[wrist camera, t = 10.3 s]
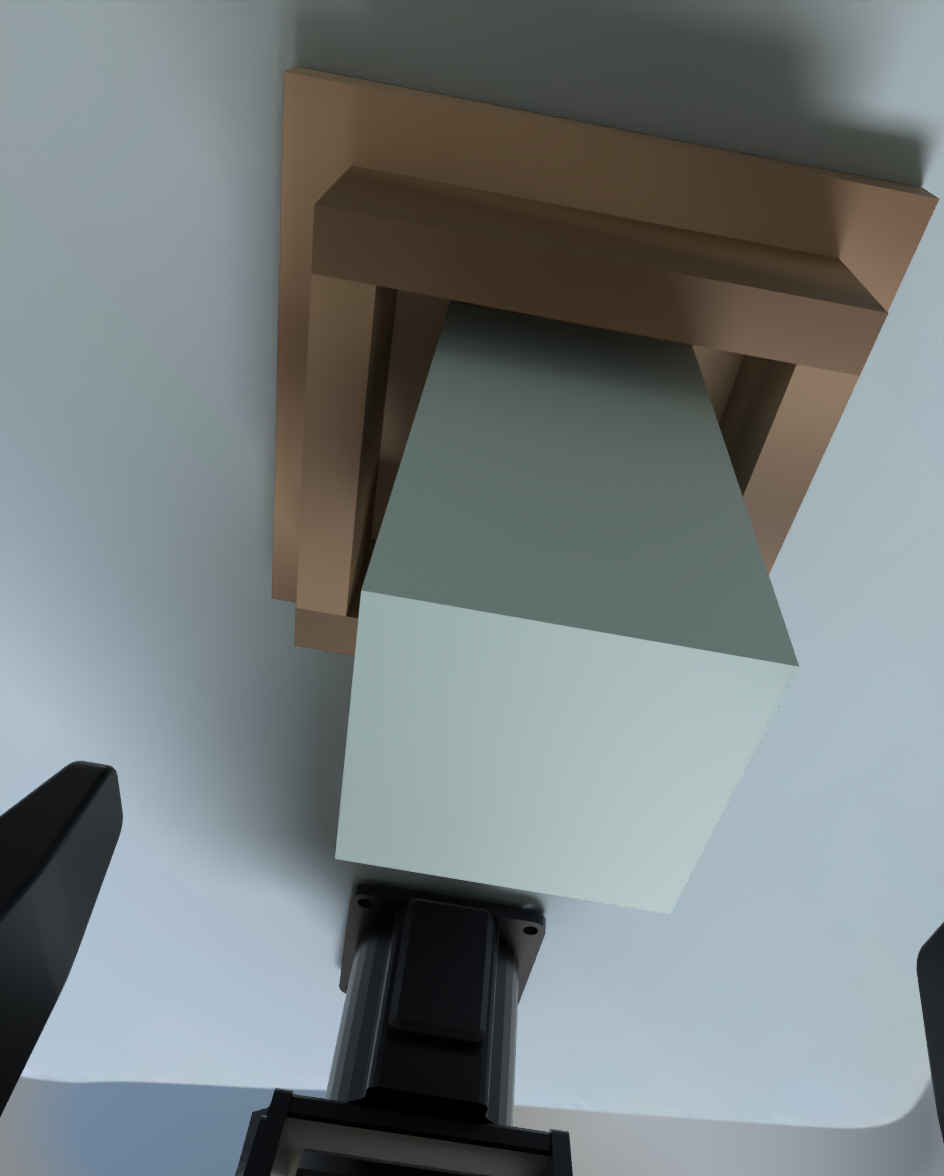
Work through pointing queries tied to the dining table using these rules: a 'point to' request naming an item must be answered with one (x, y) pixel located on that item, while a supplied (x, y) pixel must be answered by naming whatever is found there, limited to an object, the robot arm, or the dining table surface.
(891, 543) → the dining table surface
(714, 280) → the walnut socket
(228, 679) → the dining table surface
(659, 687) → the painted peg
